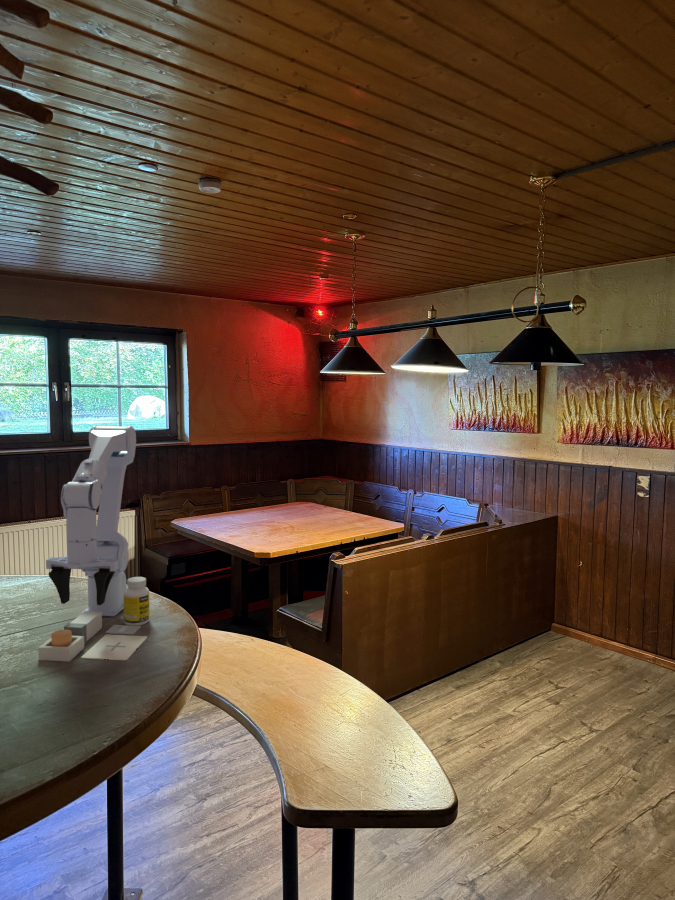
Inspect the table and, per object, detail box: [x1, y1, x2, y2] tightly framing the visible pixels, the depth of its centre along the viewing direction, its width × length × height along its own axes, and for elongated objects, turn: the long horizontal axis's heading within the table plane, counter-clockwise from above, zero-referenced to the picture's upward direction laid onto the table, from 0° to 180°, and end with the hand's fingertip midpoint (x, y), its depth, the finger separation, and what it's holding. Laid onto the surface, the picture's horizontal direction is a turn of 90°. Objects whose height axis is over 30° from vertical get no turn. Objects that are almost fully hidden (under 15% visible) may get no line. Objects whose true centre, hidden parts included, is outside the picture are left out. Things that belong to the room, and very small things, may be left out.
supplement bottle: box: [123, 576, 150, 626], centre depth 134 cm, size 5×5×10 cm
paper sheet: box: [80, 634, 149, 661], centre depth 121 cm, size 11×9×1 cm
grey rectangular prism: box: [63, 611, 103, 644], centre depth 127 cm, size 9×4×4 cm, turn 177°
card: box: [105, 624, 141, 636], centre depth 130 cm, size 4×6×1 cm, turn 87°
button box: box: [37, 636, 85, 662], centre depth 118 cm, size 6×6×2 cm
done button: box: [50, 629, 72, 647], centre depth 118 cm, size 4×4×3 cm
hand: (83, 602), depth 126 cm, fingers open, 7 cm apart
